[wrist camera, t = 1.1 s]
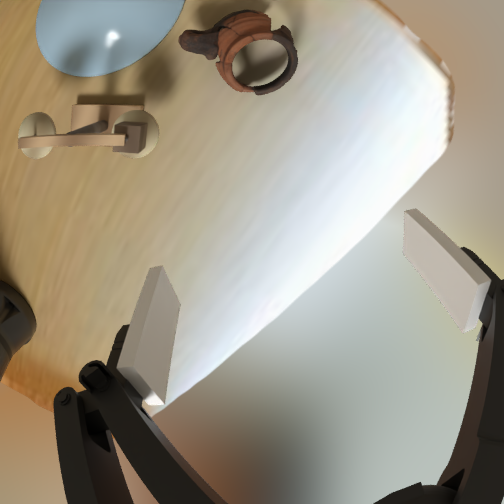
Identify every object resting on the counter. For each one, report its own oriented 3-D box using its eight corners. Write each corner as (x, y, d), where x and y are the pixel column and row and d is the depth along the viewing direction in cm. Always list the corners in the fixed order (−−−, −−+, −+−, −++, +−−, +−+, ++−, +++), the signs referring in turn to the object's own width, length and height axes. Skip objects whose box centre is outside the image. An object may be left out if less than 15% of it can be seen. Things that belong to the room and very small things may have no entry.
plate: (28, 81, 26) (25, 82, 25) (58, -48, 16) (57, -49, 15) (168, 78, 29) (167, 78, 28) (204, -64, 19) (203, -65, 19)
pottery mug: (286, 10, 26) (317, 31, 22) (268, 75, 34) (291, 107, 30) (180, 0, 22) (186, 15, 18) (172, 72, 30) (177, 105, 26)
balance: (53, 142, 31) (1, 168, 21) (55, 105, 28) (0, 119, 19) (166, 148, 33) (141, 176, 24) (171, 107, 31) (146, 117, 21)
